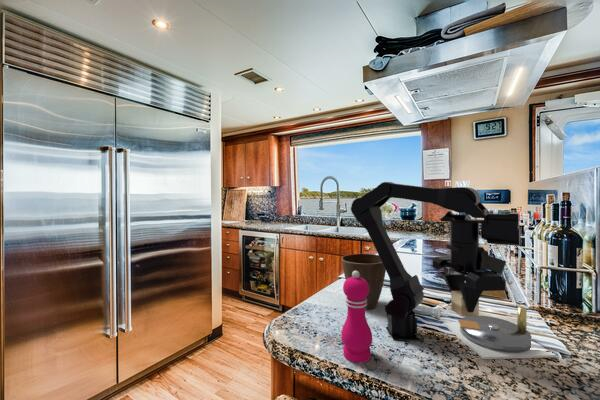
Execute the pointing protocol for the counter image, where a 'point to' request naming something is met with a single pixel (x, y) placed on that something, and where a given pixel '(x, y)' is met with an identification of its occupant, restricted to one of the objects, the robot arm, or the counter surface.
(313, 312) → the counter surface
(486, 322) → the crank wheel
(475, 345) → the base board
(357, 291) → the pepper mill
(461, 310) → the link block
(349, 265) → the plant pot
